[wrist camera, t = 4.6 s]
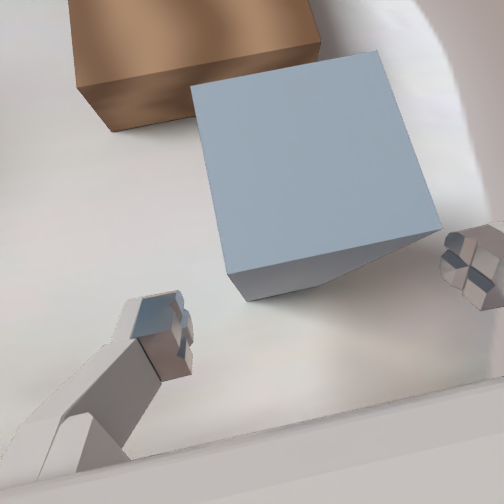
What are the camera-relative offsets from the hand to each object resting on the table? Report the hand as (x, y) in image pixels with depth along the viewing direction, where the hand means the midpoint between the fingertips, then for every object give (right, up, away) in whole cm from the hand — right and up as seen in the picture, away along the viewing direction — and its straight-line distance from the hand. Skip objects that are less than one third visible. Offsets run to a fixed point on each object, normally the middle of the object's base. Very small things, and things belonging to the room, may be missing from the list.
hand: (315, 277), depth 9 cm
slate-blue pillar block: (-1, 0, +9) cm, 9 cm away
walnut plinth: (-6, +17, +13) cm, 22 cm away
